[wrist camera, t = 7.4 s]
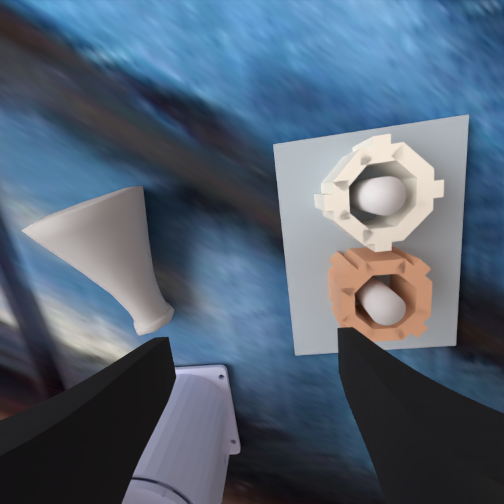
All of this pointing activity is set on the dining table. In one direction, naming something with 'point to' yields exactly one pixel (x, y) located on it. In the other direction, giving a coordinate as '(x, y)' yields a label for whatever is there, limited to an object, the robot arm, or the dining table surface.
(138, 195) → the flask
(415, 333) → the gear
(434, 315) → the gear board
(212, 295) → the dining table surface
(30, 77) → the dining table surface
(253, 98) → the dining table surface
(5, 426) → the robot arm
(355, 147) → the gear
